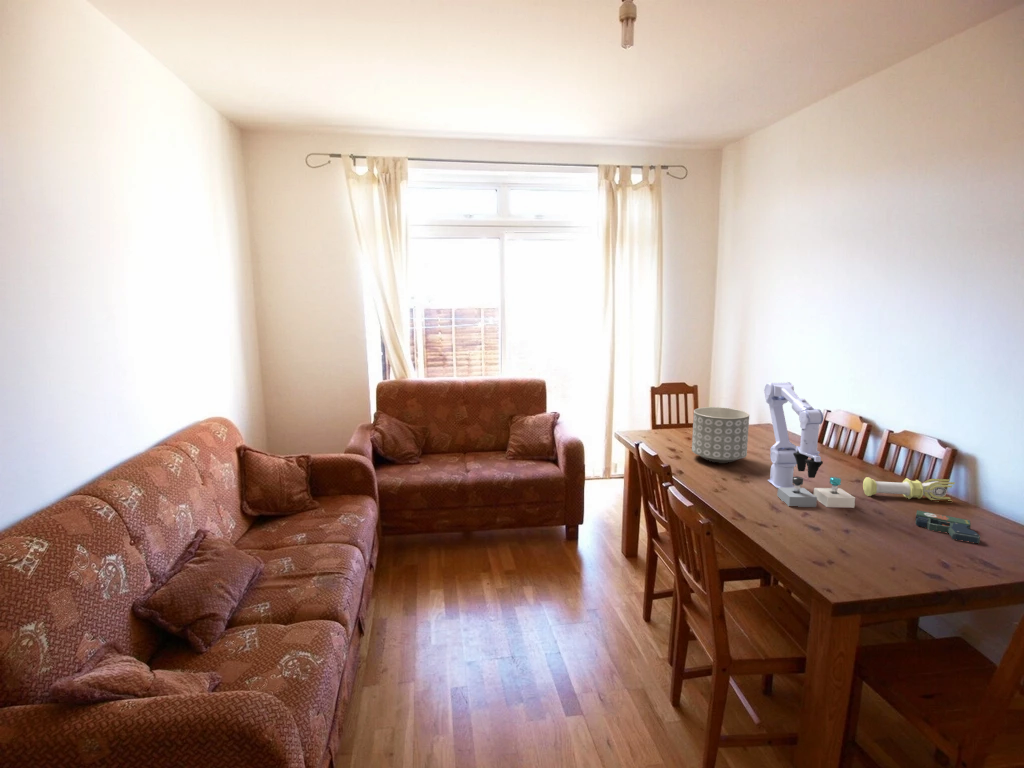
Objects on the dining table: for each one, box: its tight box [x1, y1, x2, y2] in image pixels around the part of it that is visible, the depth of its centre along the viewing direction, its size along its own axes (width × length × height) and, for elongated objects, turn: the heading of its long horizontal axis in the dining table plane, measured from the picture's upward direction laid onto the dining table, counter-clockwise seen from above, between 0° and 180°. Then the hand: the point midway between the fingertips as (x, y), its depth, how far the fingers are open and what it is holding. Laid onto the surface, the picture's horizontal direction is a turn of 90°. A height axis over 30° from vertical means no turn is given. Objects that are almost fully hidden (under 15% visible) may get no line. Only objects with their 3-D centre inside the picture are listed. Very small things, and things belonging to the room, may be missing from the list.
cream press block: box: [812, 487, 856, 509], centre depth 200 cm, size 10×10×4 cm
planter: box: [691, 406, 750, 464], centre depth 252 cm, size 25×25×24 cm
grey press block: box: [776, 487, 818, 508], centre depth 200 cm, size 10×10×4 cm
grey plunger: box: [792, 476, 804, 494], centre depth 200 cm, size 4×4×6 cm
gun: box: [915, 509, 981, 544], centre depth 175 cm, size 3×16×15 cm
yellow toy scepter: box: [862, 476, 956, 502], centre depth 203 cm, size 8×8×30 cm
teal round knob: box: [829, 476, 842, 494], centre depth 199 cm, size 4×4×6 cm
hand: (806, 474), depth 201 cm, fingers open, 7 cm apart
